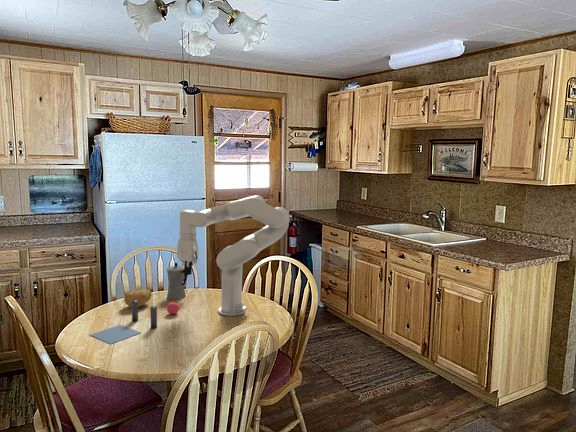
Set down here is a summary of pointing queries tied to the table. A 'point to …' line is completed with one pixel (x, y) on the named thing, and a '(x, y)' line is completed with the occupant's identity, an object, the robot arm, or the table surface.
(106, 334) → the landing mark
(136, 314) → the post
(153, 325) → the post
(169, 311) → the ball
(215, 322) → the table surface
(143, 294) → the potato
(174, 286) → the coffeepot
